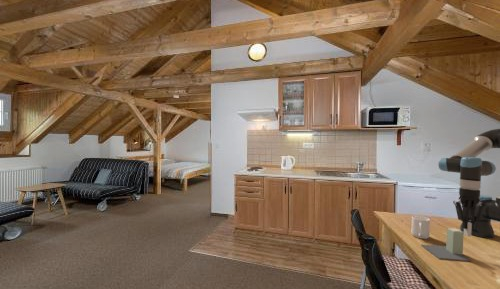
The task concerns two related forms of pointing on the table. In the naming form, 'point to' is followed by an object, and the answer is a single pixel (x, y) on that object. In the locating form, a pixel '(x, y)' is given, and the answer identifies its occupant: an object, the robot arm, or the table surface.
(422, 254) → the table surface
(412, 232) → the mug
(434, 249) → the mat
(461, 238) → the block
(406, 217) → the table surface
